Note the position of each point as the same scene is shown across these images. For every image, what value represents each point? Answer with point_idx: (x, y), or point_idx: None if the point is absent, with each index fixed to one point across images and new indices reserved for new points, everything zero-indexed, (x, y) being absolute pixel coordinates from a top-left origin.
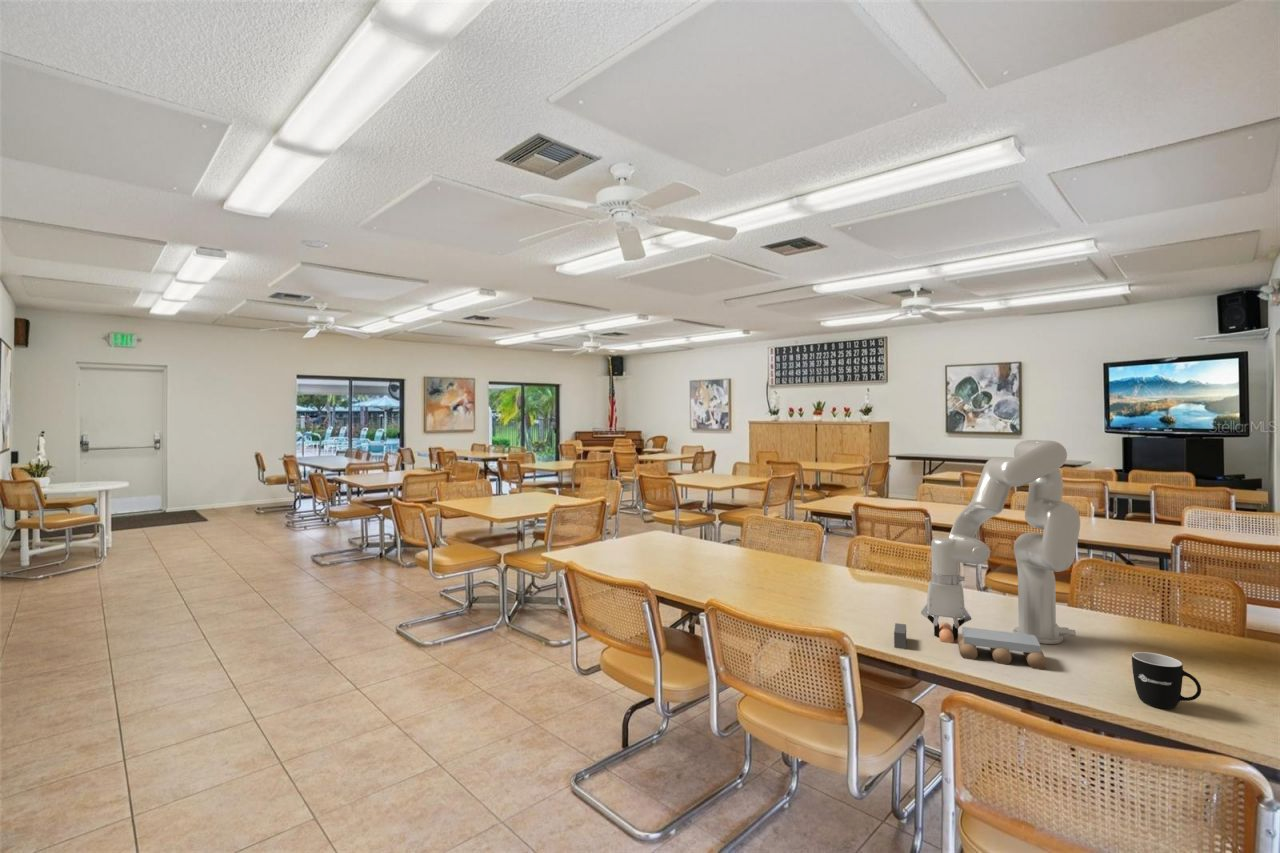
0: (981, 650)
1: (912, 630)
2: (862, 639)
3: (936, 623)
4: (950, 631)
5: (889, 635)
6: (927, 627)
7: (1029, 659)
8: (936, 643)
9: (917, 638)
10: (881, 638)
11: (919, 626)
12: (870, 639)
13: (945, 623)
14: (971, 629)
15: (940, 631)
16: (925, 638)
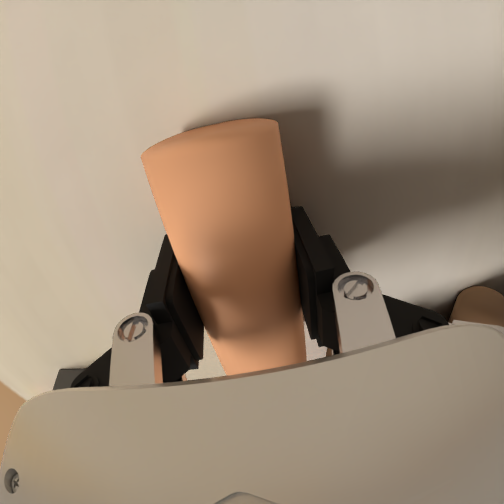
0: (416, 305)
1: (8, 203)
2: (18, 393)
3: (176, 379)
4: (290, 348)
5: (15, 338)
6: (46, 48)
7: None
8: (208, 340)
9: (100, 322)
10: (29, 373)
11: (2, 76)
12: (25, 388)
13: (214, 193)
14: None
15: (216, 349)
16: (128, 302)
